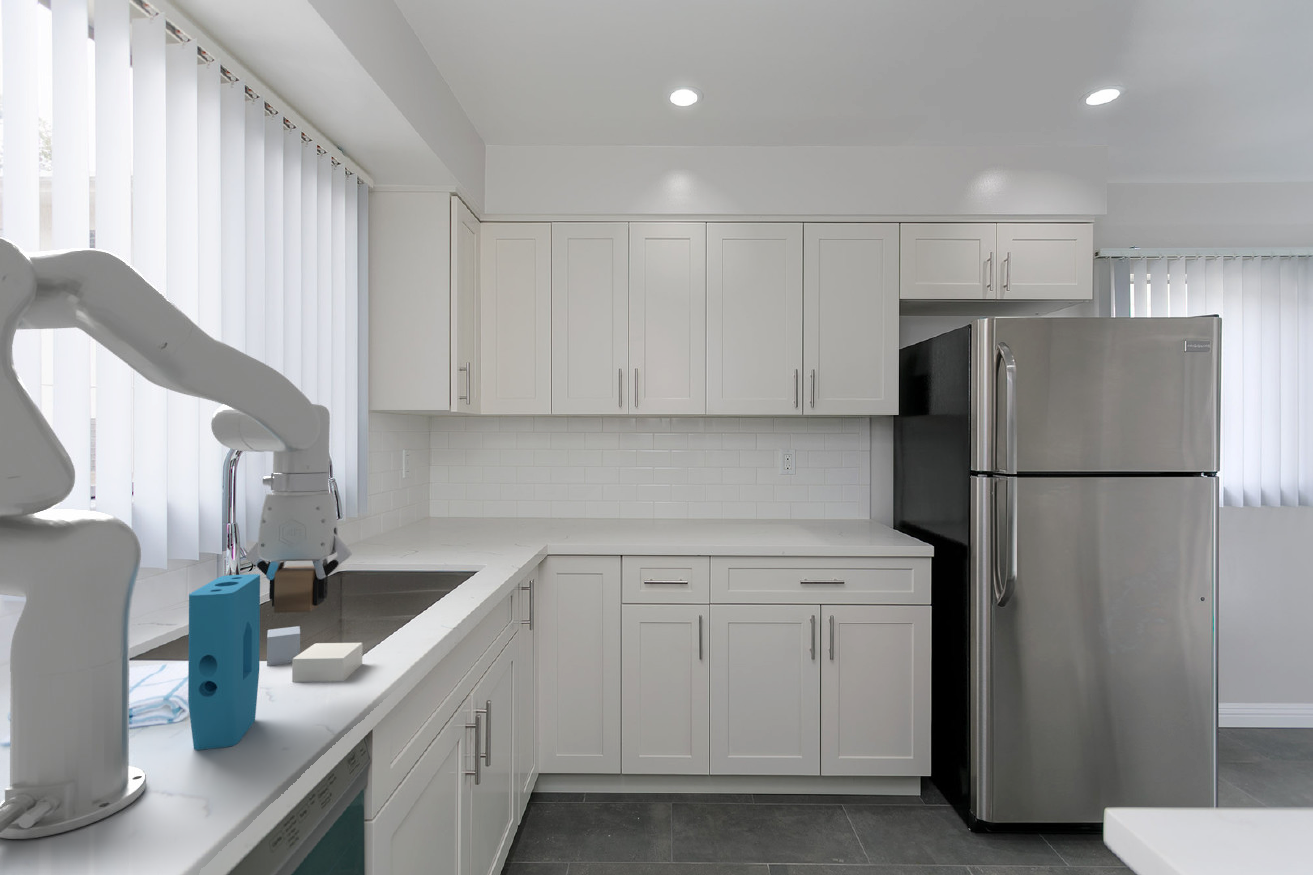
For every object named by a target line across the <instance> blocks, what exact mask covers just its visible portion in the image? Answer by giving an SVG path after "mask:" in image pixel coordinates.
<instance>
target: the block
mask: <svg viewBox="0 0 1313 875" xmlns="http://www.w3.org/2000/svg"><path fill="white" fill-rule="evenodd" d="M260 620H261V574H258V573H254V574H253V573H252V574H233V575H232V574H231V575H229V574H228V575H221V576H219V577H217V578H215V579H213V580H212V581H210V582H208V583H206V584H205V585H202V586H201V587H199V588H197V589H195V590H194V591H192V592H190V593H189V594H188V662H187V663H188V668H187V669H188V672H187V674H188V675H187V676H188V677H187V679H188V683H187V684H188V685H187V686H188V688H187V689H188V690H187V693H188V694H187V701H188V703H187V704H188V711H189V718H190V719H189V720H190V727H191V737H192V744H193V749H194V750H195V751H199V750H200V751H201V750H212V749H220V748H229V747H233V746H236V745H237V744H239V743H240V741H241V740H242V739H243V737H244V736H245V735H246V734H247V732H248V731H249V730H250V728H251V727H252V725H253V724H254V723H255V721H256V716H257V715H256V714H257V703H258V702H257V700H258V691H259V690H258V687H259V680H260V679H259V677H260V654H261V653H260V640H261V639H260V637H261V635H260V634H261V633H260V632H261V631H260V630H261V627H260V624H261V623H260V622H261V621H260Z"/></svg>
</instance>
